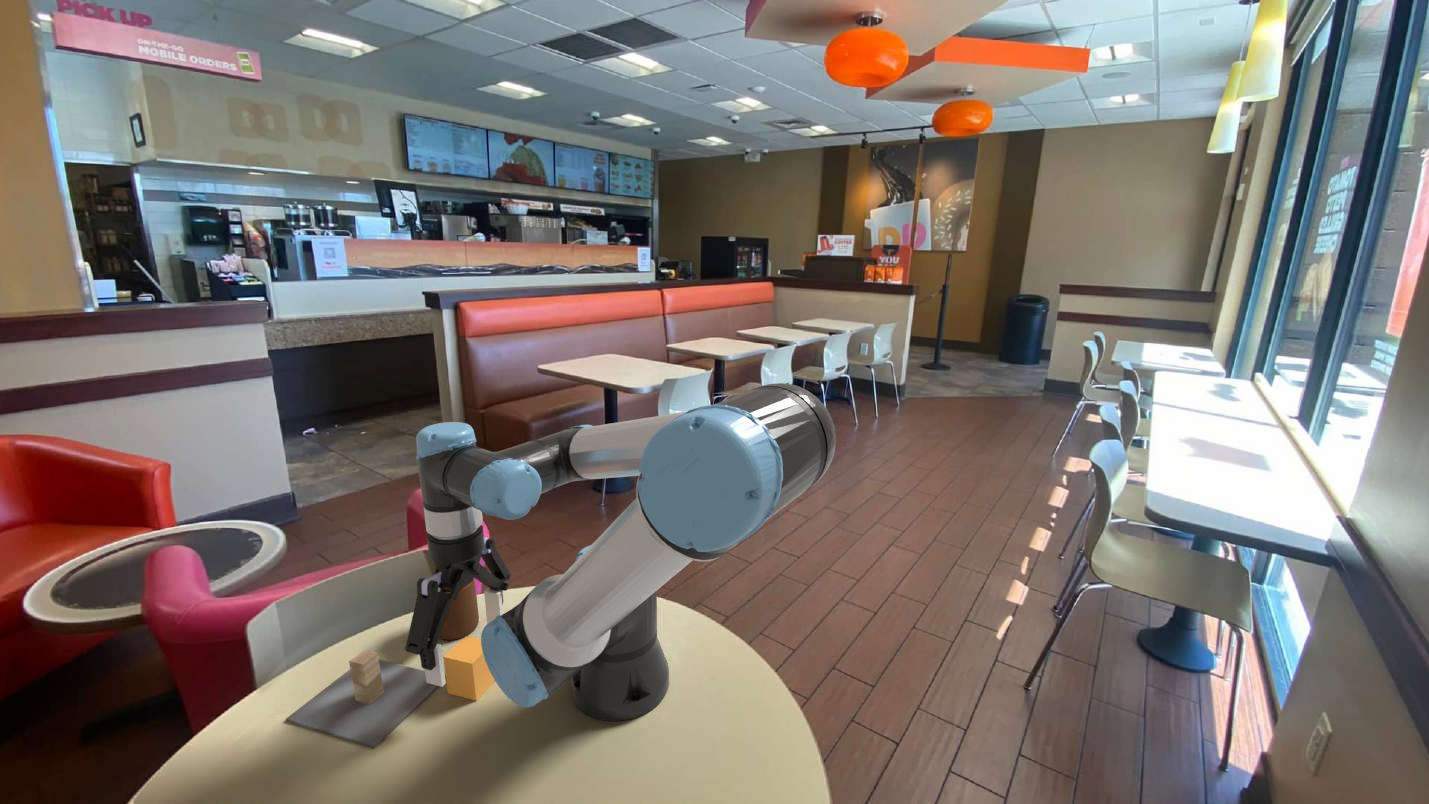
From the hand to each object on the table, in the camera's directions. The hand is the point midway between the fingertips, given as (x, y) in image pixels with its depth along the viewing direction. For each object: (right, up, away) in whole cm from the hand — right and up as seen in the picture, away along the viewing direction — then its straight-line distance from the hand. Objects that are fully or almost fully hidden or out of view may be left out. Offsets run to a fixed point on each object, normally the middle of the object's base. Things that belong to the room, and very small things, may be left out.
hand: (468, 652), depth 91 cm
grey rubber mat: (-14, -6, -2) cm, 16 cm away
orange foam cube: (0, -6, +1) cm, 6 cm away
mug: (-9, -3, +13) cm, 16 cm away
